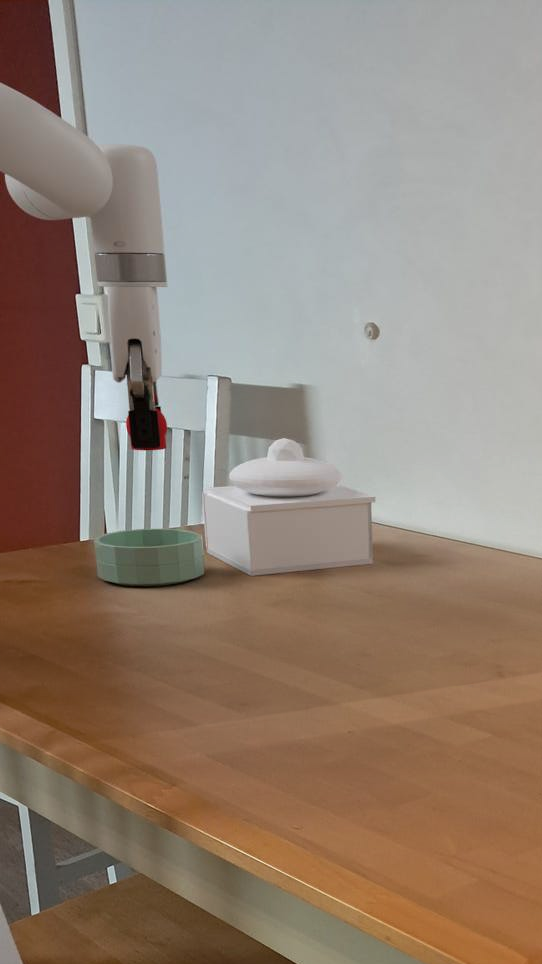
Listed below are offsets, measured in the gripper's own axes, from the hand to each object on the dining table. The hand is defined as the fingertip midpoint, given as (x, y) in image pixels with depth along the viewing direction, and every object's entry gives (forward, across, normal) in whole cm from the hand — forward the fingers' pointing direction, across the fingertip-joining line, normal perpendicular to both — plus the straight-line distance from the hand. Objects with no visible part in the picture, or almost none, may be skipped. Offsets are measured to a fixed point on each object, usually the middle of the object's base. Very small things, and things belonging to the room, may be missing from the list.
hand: (148, 443), depth 148 cm
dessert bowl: (+17, -9, -2) cm, 20 cm away
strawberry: (+1, 0, 0) cm, 1 cm away
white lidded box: (+18, -20, +16) cm, 31 cm away
